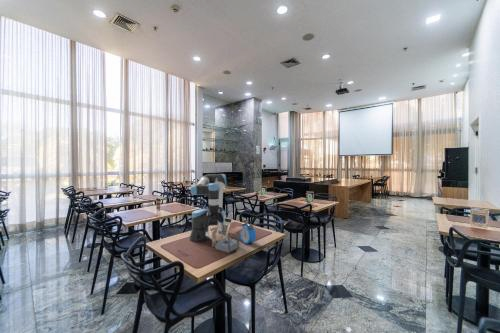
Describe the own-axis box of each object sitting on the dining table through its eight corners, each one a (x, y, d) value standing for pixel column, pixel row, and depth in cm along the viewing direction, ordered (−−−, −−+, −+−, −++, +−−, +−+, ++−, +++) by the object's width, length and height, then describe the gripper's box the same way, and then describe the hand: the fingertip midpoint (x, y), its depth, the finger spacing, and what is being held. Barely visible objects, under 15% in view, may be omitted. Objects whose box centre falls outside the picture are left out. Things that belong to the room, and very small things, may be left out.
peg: (211, 246, 157) (211, 230, 157) (213, 245, 159) (213, 229, 159) (214, 247, 155) (214, 231, 155) (216, 246, 158) (216, 230, 157)
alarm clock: (239, 241, 167) (239, 222, 167) (245, 239, 172) (245, 220, 171) (250, 246, 158) (250, 226, 157) (256, 244, 162) (256, 224, 161)
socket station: (215, 249, 153) (215, 228, 152) (225, 243, 163) (225, 224, 162) (233, 254, 144) (233, 232, 144) (243, 248, 154) (243, 227, 154)
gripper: (205, 208, 144) (205, 239, 144) (228, 202, 165) (228, 229, 165) (197, 206, 148) (197, 237, 148) (220, 201, 169) (221, 228, 169)
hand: (213, 233), depth 157 cm, fingers open, 13 cm apart
